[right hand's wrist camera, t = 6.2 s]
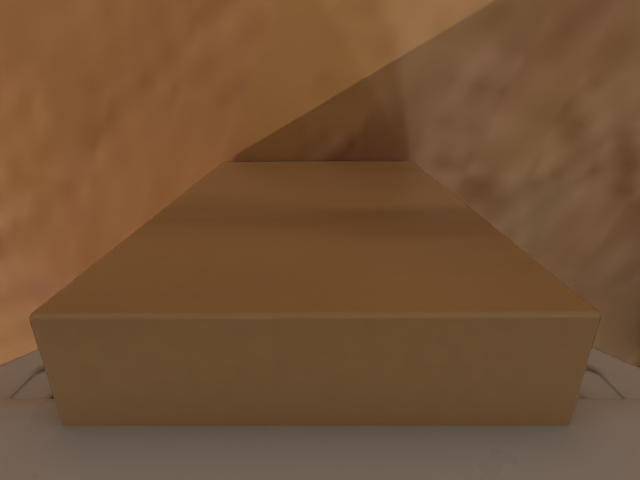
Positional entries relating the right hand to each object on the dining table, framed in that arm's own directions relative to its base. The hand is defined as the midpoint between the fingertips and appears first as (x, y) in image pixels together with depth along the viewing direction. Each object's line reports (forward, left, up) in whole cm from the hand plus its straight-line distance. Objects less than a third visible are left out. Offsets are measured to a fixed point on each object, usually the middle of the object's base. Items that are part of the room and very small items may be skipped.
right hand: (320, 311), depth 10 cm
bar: (-9, +2, -3) cm, 9 cm away
